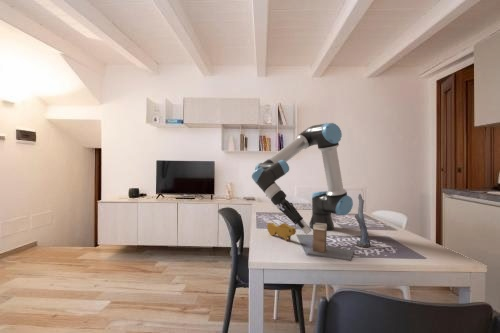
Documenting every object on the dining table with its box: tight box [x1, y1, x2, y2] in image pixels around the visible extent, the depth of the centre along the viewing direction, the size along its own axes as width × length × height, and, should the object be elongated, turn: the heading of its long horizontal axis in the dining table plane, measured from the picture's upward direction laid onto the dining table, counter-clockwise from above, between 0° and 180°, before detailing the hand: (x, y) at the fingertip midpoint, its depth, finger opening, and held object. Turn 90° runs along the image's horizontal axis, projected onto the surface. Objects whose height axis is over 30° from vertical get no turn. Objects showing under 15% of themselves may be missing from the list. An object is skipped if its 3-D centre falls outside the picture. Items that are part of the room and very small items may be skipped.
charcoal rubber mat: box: [307, 245, 355, 261], centre depth 126 cm, size 14×18×1 cm
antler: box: [354, 193, 372, 248], centre depth 140 cm, size 12×8×25 cm
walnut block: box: [312, 223, 328, 253], centre depth 127 cm, size 5×5×12 cm
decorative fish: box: [266, 222, 297, 242], centre depth 150 cm, size 22×3×10 cm, turn 32°
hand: (308, 232), depth 129 cm, fingers closed
